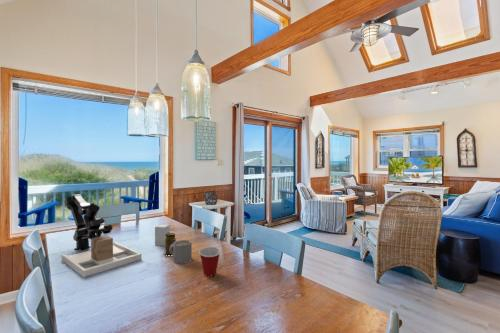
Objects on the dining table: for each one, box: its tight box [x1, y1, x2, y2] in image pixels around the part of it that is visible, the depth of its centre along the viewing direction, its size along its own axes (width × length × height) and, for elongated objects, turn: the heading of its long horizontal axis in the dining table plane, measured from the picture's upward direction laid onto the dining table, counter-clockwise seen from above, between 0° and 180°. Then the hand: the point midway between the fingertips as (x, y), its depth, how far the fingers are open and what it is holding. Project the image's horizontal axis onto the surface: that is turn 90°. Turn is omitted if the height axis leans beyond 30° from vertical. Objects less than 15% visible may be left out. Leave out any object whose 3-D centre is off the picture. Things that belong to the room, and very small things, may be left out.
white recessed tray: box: [61, 241, 142, 278], centre depth 143 cm, size 34×29×3 cm
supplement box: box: [154, 224, 171, 247], centre depth 170 cm, size 7×7×13 cm
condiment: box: [163, 232, 177, 258], centre depth 152 cm, size 7×8×12 cm
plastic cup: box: [198, 246, 222, 277], centre depth 125 cm, size 11×11×12 cm
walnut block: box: [90, 234, 114, 262], centre depth 142 cm, size 9×8×11 cm
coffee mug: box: [170, 239, 193, 264], centre depth 144 cm, size 13×10×10 cm
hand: (98, 243), depth 145 cm, fingers closed
